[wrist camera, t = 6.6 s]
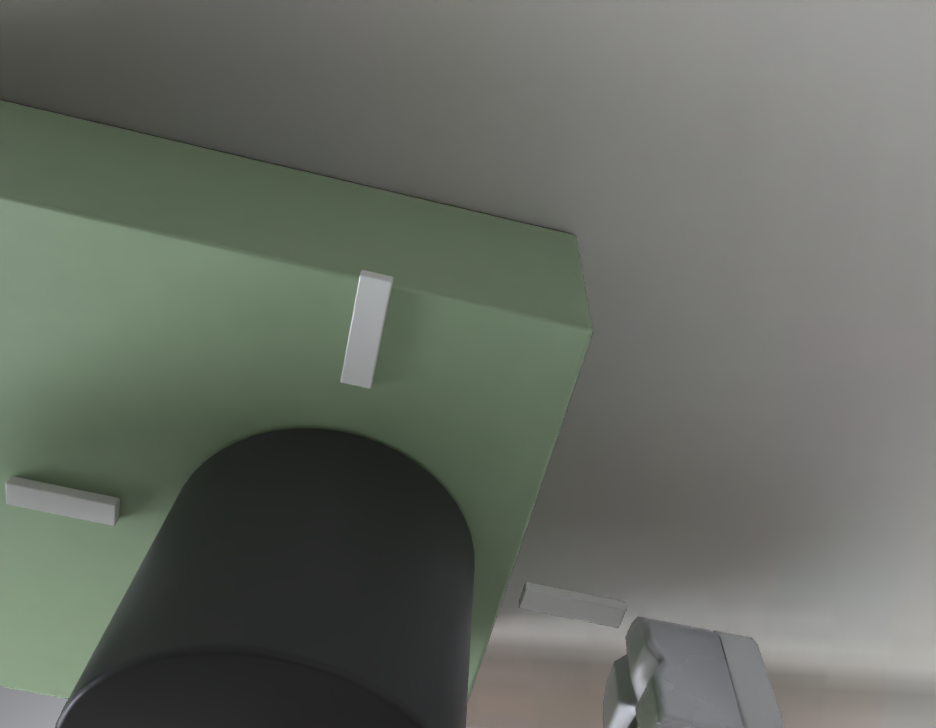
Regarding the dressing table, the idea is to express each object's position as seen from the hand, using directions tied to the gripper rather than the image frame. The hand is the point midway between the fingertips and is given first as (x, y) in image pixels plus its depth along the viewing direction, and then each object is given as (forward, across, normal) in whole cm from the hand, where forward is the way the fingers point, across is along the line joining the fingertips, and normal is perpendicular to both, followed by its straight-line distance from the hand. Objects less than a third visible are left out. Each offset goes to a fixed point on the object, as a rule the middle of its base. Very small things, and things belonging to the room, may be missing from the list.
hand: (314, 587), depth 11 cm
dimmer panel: (+4, +3, 0) cm, 5 cm away
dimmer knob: (+1, 0, 0) cm, 1 cm away
